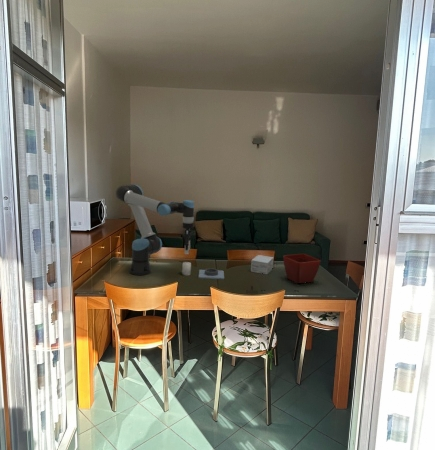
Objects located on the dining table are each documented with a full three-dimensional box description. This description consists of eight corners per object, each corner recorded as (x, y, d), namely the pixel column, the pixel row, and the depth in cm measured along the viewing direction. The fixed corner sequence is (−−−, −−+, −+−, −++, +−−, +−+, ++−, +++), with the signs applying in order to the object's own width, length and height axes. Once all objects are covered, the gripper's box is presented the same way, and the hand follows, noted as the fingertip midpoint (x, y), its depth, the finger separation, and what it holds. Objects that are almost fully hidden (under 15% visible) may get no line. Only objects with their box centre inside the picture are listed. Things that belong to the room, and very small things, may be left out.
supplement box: (257, 265, 271) (257, 254, 269) (273, 268, 265) (273, 257, 264) (250, 271, 255) (251, 259, 254) (267, 274, 250) (267, 262, 248)
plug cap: (181, 275, 240) (182, 264, 238) (182, 272, 245) (182, 261, 244) (190, 275, 240) (190, 264, 238) (190, 272, 246) (191, 262, 244)
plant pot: (280, 277, 245) (282, 255, 242) (301, 275, 253) (303, 253, 250) (296, 286, 228) (299, 262, 225) (319, 283, 236) (321, 260, 232)
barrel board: (198, 278, 235) (198, 273, 234) (199, 270, 251) (199, 266, 250) (224, 279, 235) (224, 274, 235) (223, 271, 251) (223, 267, 250)
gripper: (192, 225, 223) (191, 256, 227) (194, 219, 248) (193, 247, 252) (181, 225, 223) (180, 256, 227) (184, 219, 248) (183, 247, 252)
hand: (187, 251), depth 239 cm, fingers open, 13 cm apart
